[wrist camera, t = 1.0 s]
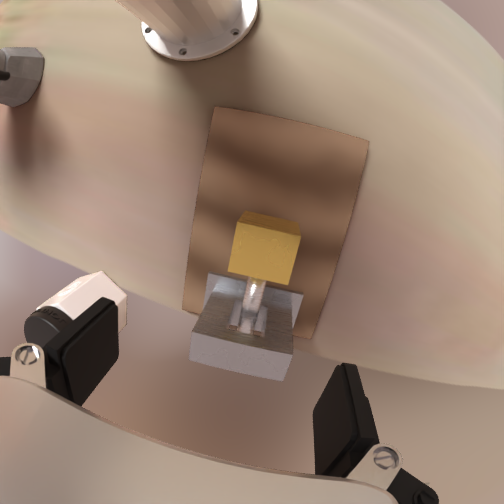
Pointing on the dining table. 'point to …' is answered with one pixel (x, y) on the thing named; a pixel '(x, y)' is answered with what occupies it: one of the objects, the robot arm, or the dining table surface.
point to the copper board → (274, 200)
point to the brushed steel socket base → (242, 344)
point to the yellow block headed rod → (262, 259)
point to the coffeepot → (19, 74)
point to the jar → (73, 307)
